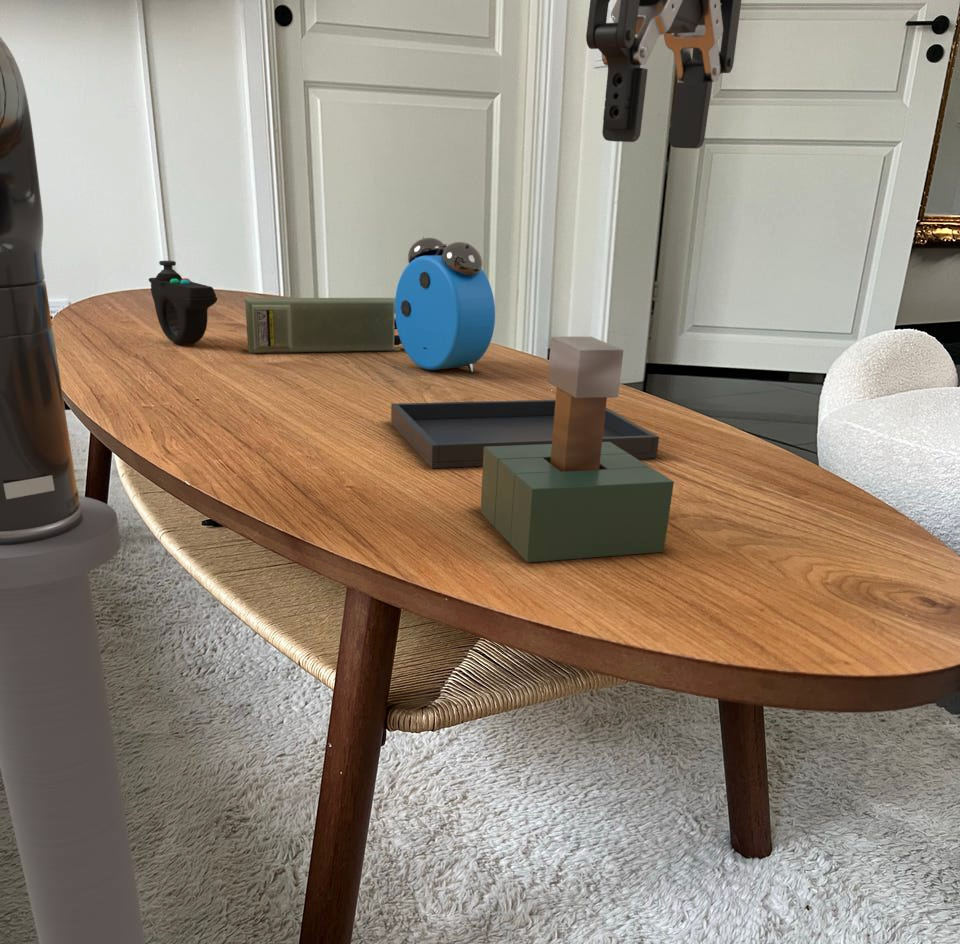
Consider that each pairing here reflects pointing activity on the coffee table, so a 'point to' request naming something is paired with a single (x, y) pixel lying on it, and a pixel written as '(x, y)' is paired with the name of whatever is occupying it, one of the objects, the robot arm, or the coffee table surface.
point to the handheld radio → (320, 324)
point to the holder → (574, 504)
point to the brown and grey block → (581, 398)
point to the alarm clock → (444, 305)
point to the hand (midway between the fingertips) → (654, 144)
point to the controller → (181, 305)
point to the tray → (498, 429)
